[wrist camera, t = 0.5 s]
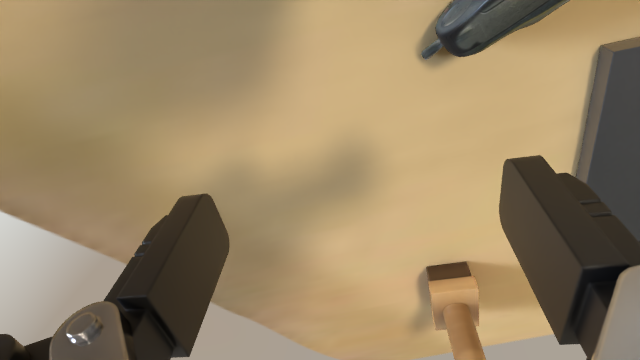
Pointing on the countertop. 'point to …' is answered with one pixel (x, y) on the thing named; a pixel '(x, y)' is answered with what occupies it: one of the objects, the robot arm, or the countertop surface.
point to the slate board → (615, 133)
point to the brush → (456, 308)
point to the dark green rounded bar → (485, 23)
